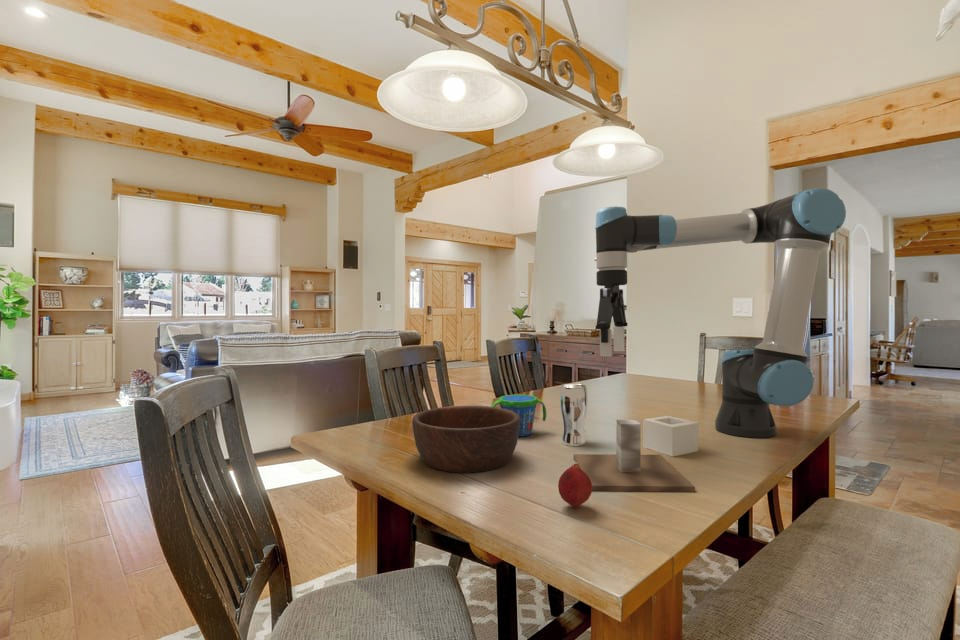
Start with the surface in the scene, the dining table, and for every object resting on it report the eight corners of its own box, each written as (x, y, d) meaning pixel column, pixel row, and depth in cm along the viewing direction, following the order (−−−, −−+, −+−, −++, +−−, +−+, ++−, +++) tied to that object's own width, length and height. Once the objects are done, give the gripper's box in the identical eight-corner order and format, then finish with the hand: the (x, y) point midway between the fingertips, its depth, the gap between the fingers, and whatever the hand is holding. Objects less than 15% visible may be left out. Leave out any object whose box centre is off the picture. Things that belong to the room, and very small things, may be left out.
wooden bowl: (468, 487, 96) (467, 435, 96) (390, 461, 113) (389, 417, 113) (541, 458, 115) (541, 414, 115) (465, 439, 132) (465, 401, 131)
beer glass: (585, 439, 130) (585, 383, 130) (589, 447, 123) (589, 387, 123) (559, 439, 131) (559, 383, 130) (561, 446, 124) (561, 387, 123)
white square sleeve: (668, 442, 127) (668, 415, 127) (698, 451, 119) (698, 422, 119) (643, 447, 123) (643, 419, 123) (672, 456, 115) (672, 427, 115)
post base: (660, 459, 113) (660, 411, 113) (694, 491, 93) (695, 434, 93) (573, 458, 114) (573, 411, 114) (589, 490, 94) (589, 433, 94)
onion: (570, 516, 82) (570, 469, 82) (552, 504, 88) (552, 460, 88) (598, 510, 85) (598, 465, 85) (579, 499, 90) (579, 456, 90)
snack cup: (490, 439, 131) (490, 401, 131) (490, 429, 142) (490, 394, 142) (548, 438, 131) (548, 401, 131) (544, 429, 142) (544, 394, 141)
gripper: (609, 273, 136) (610, 349, 137) (582, 267, 114) (583, 358, 115) (637, 271, 132) (638, 349, 133) (614, 265, 111) (615, 359, 111)
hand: (612, 353), depth 124 cm, fingers open, 13 cm apart
